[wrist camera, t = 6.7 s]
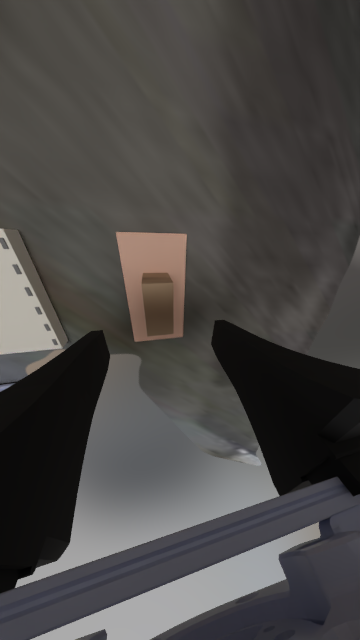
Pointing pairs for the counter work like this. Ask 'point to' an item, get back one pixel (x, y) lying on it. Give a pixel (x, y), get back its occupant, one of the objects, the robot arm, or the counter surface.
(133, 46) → the counter surface
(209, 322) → the counter surface
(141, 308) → the stub
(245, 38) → the counter surface
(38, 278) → the board
